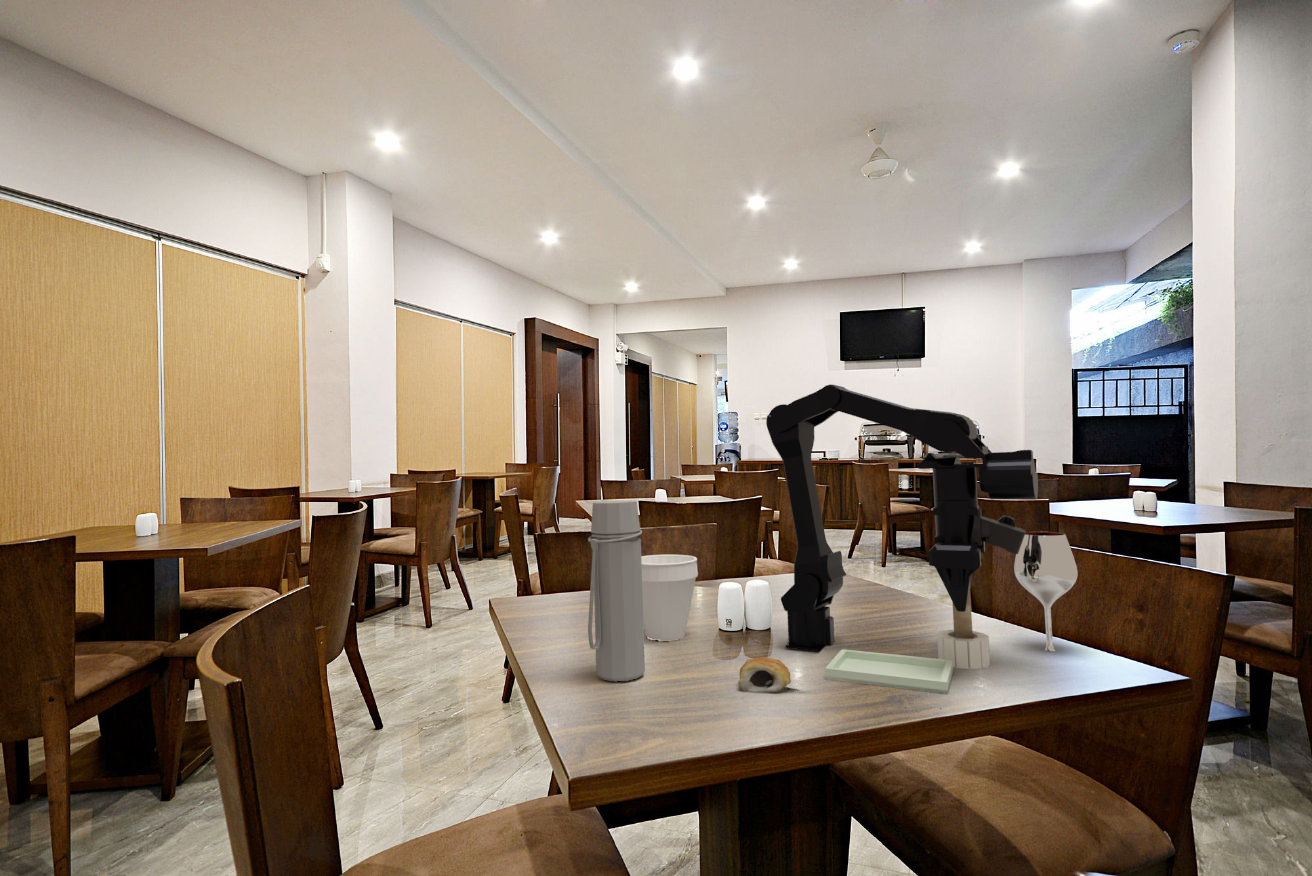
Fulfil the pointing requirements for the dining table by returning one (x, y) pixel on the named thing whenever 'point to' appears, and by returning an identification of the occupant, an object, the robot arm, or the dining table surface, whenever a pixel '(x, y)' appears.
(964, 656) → the holder
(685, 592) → the cup
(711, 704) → the dining table surface
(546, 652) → the dining table surface
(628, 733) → the dining table surface
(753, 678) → the pastry
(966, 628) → the dowel
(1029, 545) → the wineglass
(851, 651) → the tray
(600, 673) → the water bottle
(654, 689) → the dining table surface
